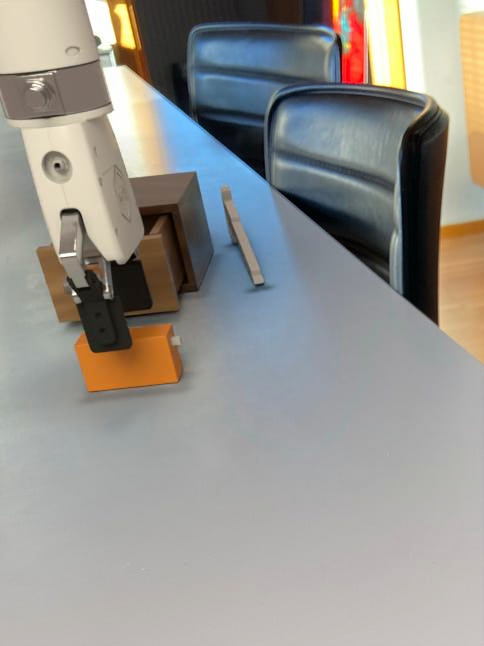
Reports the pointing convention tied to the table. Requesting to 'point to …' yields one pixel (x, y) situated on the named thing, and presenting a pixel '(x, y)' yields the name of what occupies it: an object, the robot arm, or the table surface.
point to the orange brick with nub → (133, 360)
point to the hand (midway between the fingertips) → (124, 329)
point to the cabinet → (179, 218)
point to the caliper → (240, 235)
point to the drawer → (154, 252)
